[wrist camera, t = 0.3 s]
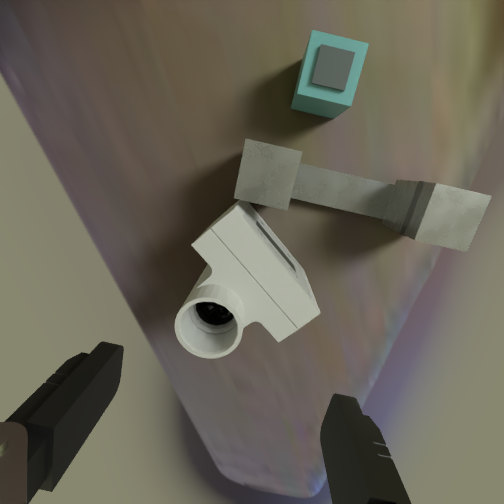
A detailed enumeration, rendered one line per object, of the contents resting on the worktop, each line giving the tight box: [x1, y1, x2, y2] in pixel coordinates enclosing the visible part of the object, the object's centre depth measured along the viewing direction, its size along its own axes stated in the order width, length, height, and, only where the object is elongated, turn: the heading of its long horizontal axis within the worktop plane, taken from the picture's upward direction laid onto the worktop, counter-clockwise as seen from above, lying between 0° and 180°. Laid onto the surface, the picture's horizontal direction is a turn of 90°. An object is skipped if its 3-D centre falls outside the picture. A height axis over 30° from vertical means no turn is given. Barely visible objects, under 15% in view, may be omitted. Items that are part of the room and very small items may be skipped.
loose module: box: [291, 30, 369, 119], centre depth 29 cm, size 5×5×7 cm
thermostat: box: [175, 200, 320, 358], centre depth 31 cm, size 12×14×15 cm
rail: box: [234, 139, 491, 252], centre depth 31 cm, size 5×22×10 cm, turn 77°
